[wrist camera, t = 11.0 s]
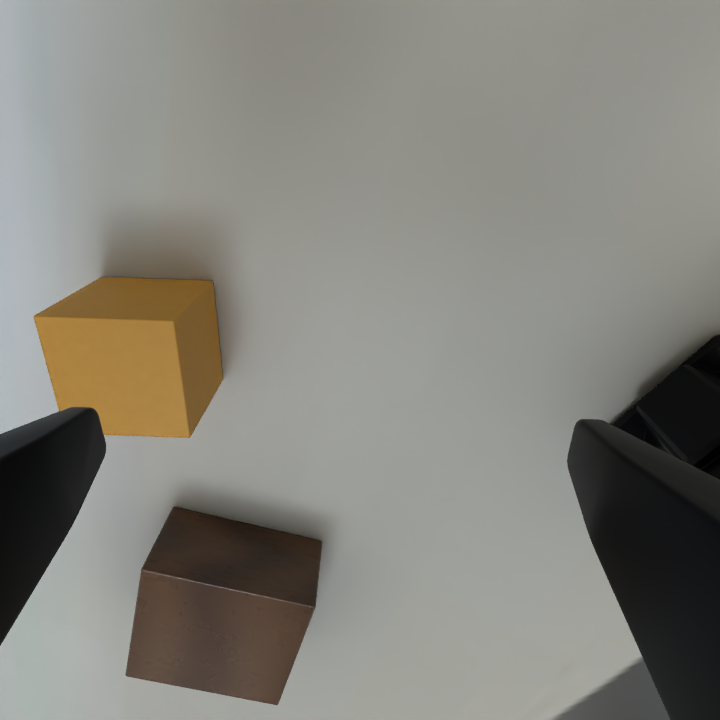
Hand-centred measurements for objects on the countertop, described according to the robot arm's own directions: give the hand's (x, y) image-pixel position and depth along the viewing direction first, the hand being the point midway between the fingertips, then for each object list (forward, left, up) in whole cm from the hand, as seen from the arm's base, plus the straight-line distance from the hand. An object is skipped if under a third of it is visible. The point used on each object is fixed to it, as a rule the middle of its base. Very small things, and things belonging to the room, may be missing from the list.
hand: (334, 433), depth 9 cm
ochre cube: (+5, +7, -12) cm, 15 cm away
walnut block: (-5, +18, -12) cm, 22 cm away
